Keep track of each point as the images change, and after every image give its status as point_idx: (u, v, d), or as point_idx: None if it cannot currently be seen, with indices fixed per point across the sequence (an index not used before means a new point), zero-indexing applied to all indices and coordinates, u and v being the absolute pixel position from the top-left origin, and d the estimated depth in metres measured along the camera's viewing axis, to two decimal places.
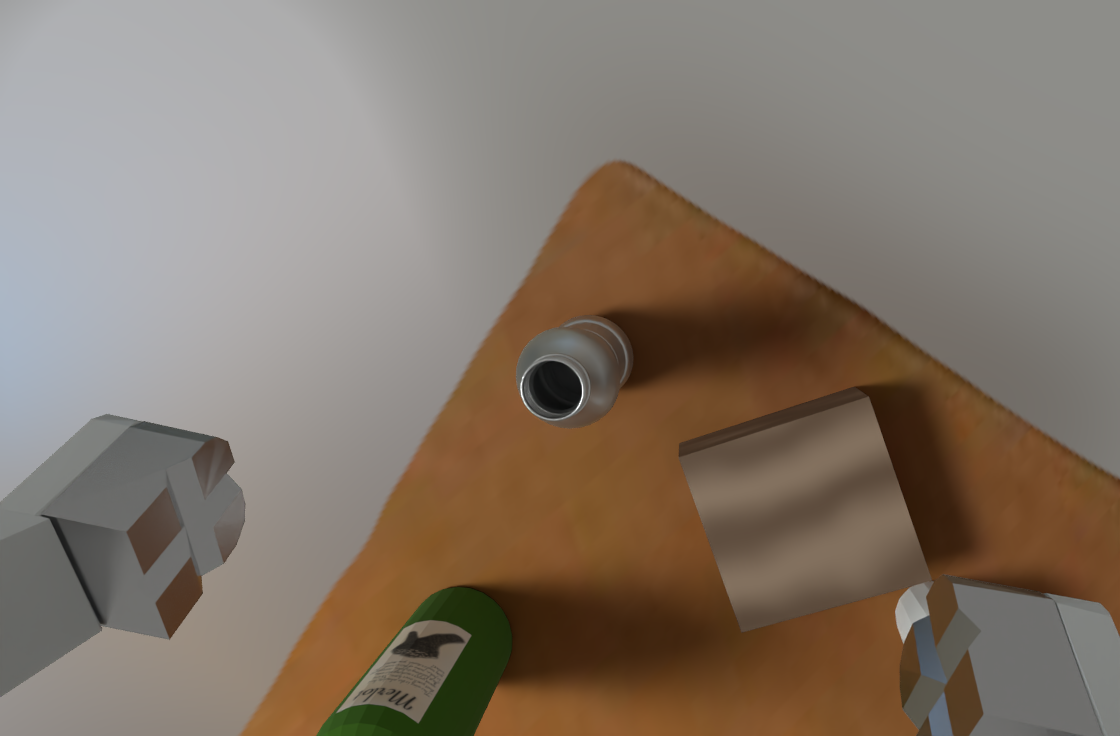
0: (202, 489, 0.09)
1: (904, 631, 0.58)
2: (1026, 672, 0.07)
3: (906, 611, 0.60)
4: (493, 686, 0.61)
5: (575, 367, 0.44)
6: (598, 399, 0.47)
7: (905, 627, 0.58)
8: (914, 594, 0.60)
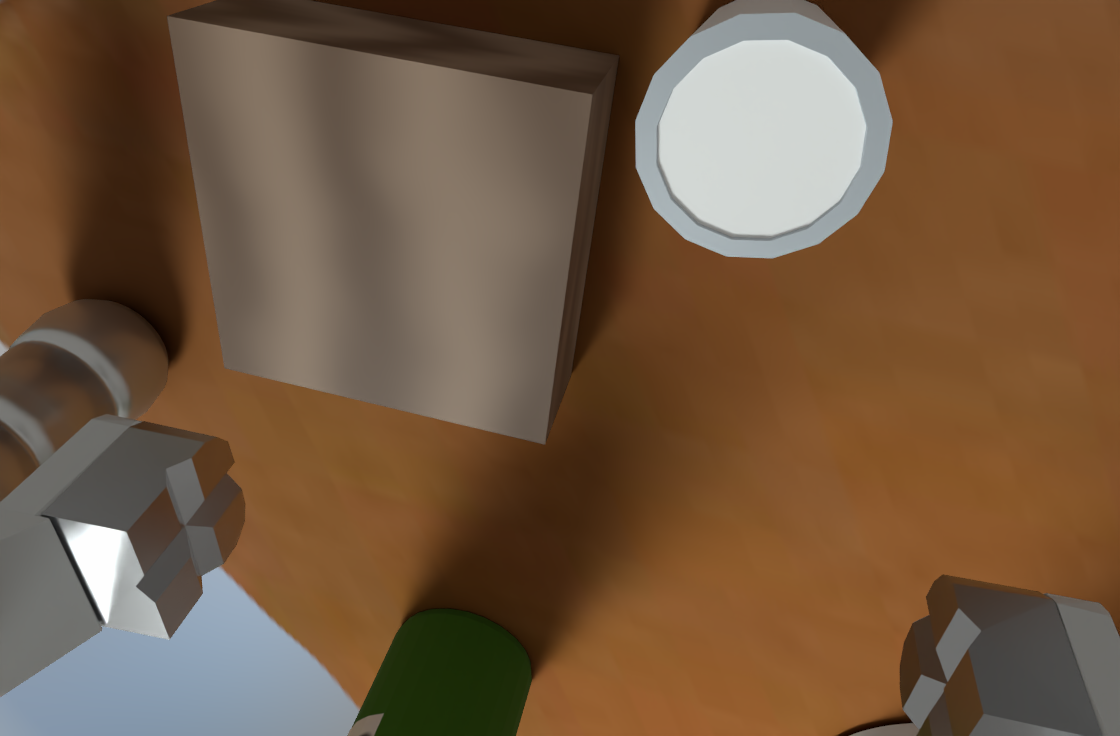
0: (202, 489, 0.09)
1: None
2: (1025, 672, 0.07)
3: None
4: (463, 731, 0.42)
5: None
6: None
7: None
8: None
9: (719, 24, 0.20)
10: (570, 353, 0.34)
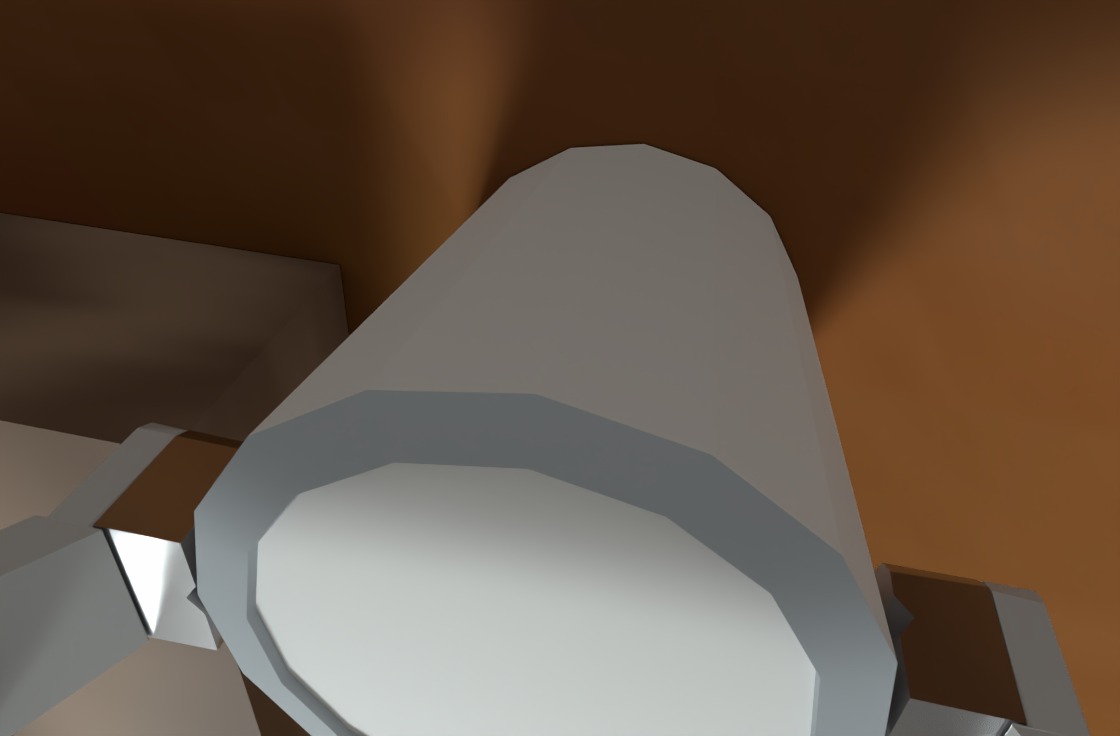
0: None
1: None
2: (955, 658, 0.07)
3: None
4: None
5: None
6: None
7: None
8: None
9: (318, 409, 0.06)
10: None
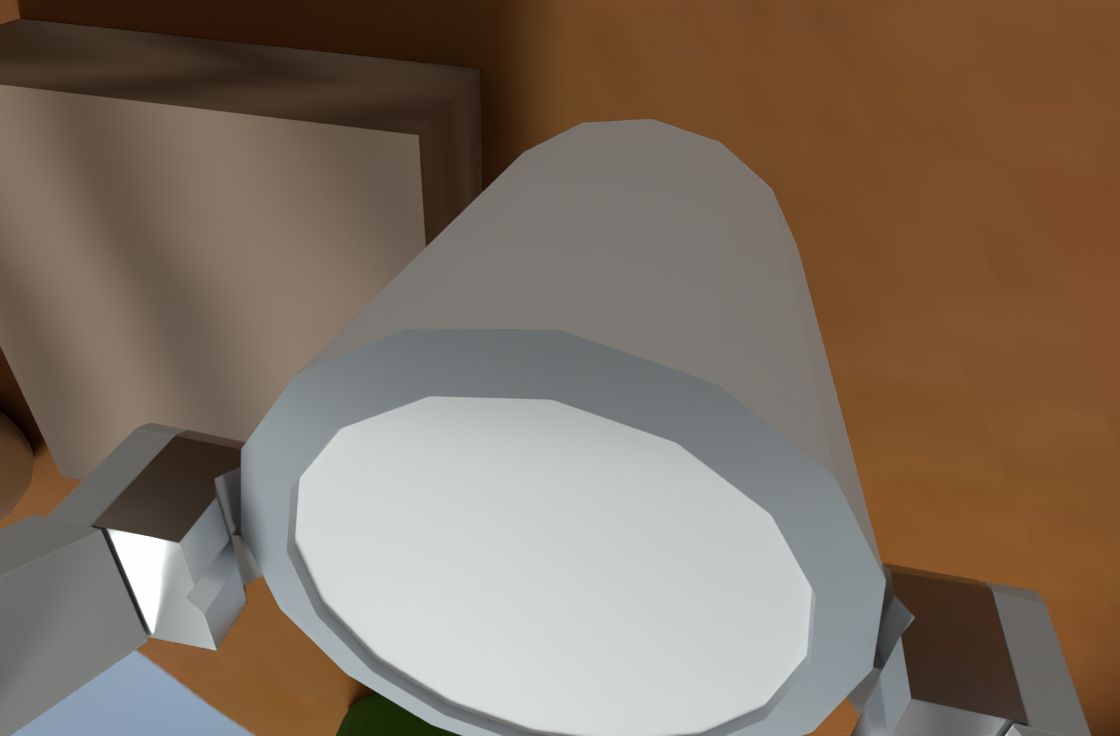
0: None
1: None
2: (956, 658, 0.07)
3: None
4: None
5: None
6: None
7: None
8: None
9: (360, 349, 0.07)
10: None
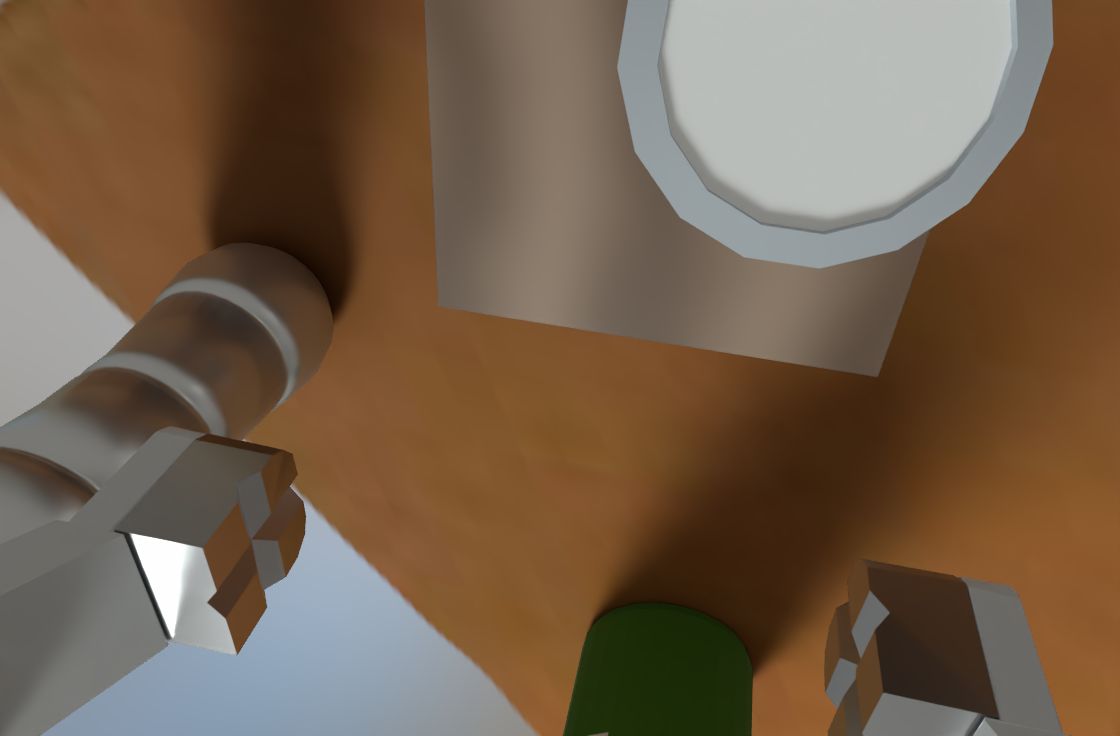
0: (269, 503, 0.09)
1: None
2: (929, 652, 0.07)
3: None
4: None
5: None
6: None
7: None
8: None
9: None
10: None
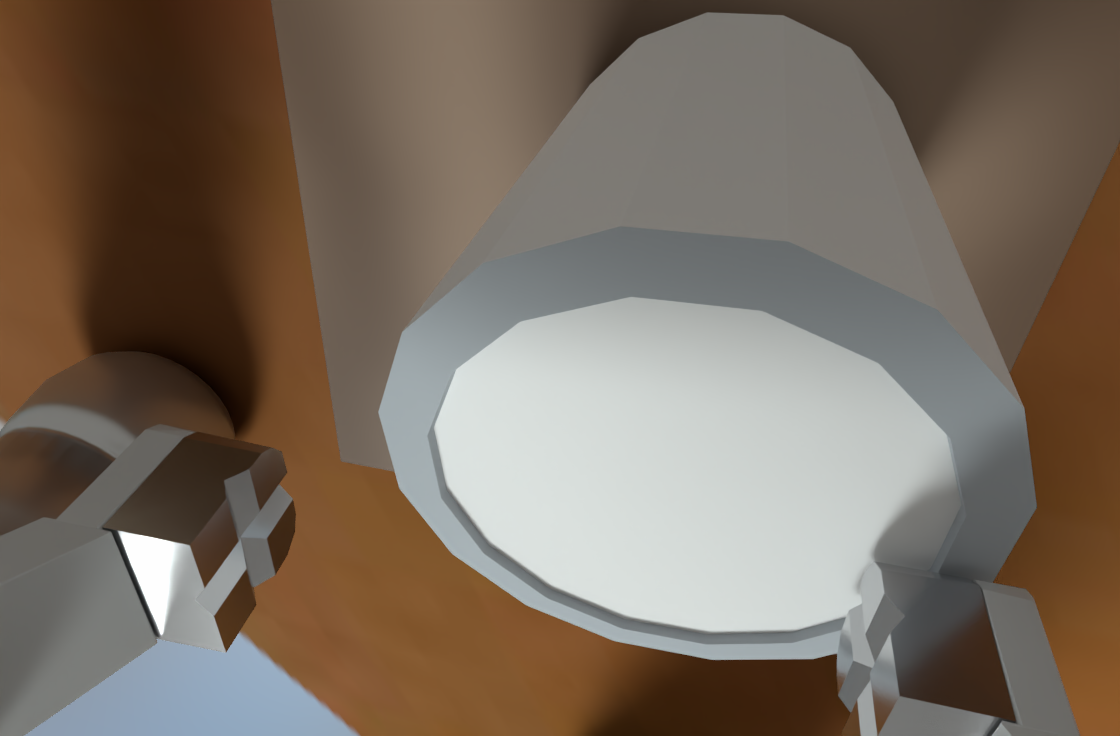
0: (258, 500, 0.09)
1: None
2: (944, 656, 0.07)
3: None
4: None
5: None
6: None
7: None
8: None
9: (450, 293, 0.07)
10: None
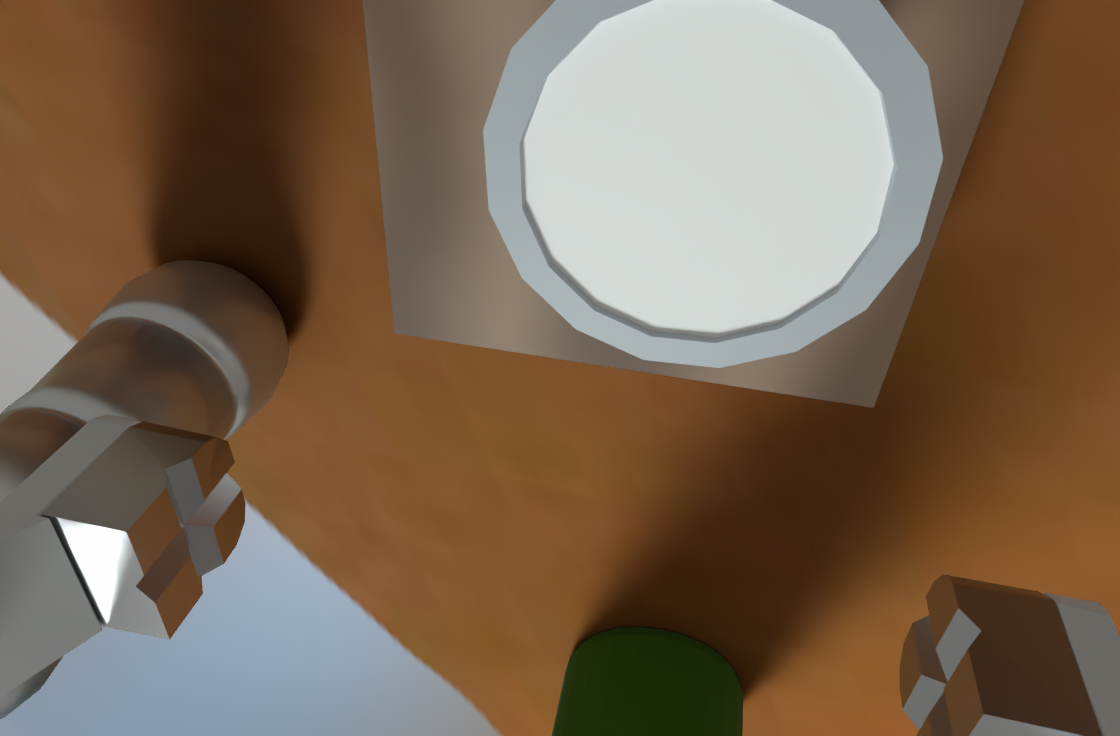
0: (202, 489, 0.09)
1: None
2: (1026, 672, 0.07)
3: None
4: None
5: None
6: None
7: None
8: None
9: (549, 10, 0.11)
10: None
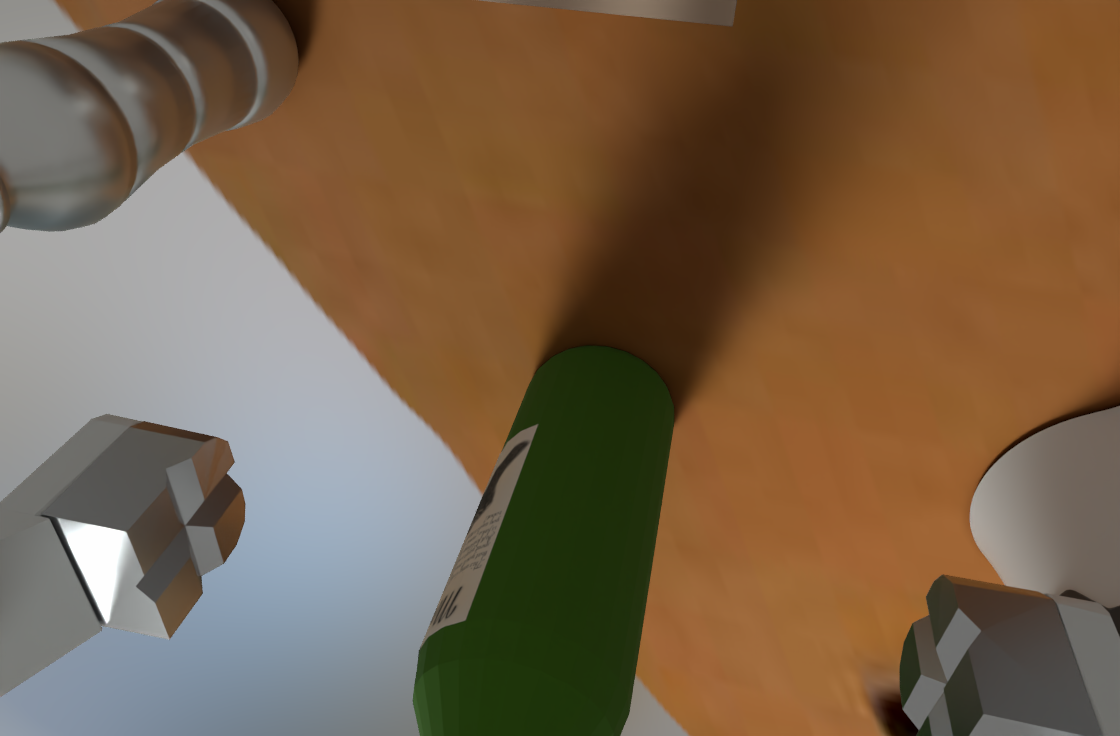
0: (202, 489, 0.09)
1: None
2: (1025, 672, 0.07)
3: None
4: (624, 435, 0.40)
5: None
6: (18, 118, 0.25)
7: None
8: None
9: None
10: None
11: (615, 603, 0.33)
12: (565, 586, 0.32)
